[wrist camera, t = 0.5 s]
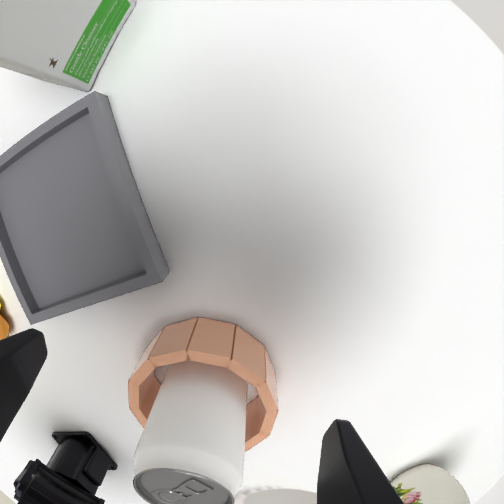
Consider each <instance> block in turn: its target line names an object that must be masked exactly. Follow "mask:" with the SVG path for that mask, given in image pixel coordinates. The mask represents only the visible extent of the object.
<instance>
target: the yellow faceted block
mask: <svg viewBox="0 0 504 504" xmlns="http://www.w3.org/2000/svg"><path fill="white" fill-rule="evenodd" d="M0 308H1V303H0ZM8 334H9V324H8V323H7V322H6V320H5V319H4V318H3V317H2V316H1V315H0V340H2V339H4V338H7V337H8Z"/></svg>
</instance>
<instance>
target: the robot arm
mask: <svg viewBox="0 0 504 504" xmlns="http://www.w3.org/2000/svg"><path fill="white" fill-rule="evenodd" d="M46 358H47V347H46V343H45V338H44V335H43V333H42V332H40V331H38V330H36V329H33V328H32V329H28V330H26V331H23V332H20V333H18V334H15V335H12V336H10V337H7V338H4V339H2V340H0V442H1V440H2V438H3V436H4V435H5V433H6V431H7V429H8V428H9V426H10V424H11V422H12V421H13V419H14V417H15V416H16V414H17V412H18V411H19V409H20V407H21V406H22V404H23V402H24V401H25V399H26V397H27V396H28V394H29V392H30V390H31V388H32V386H33V384H34V382H35V380H36V378H37V376H38V374H39V372H40V370H41V368H42V366H43V364H44V362H45V360H46ZM52 437H53V438H54V439H55V440H56V441H57V443H58V444H59V445H58V447H57V448H56V450H55V452H54V454H53V455H52V457H51V459H50V460H49V462H48V464H47V465H44V464H43V463H42V462H41V461H40V460H38V459H36V461H32V460H30V461H29V462H28V464H27V466H26V467H25V469H24V470H23V471H22V473H21V474H20V475H19V476H18V478H17V479H16V480H15V482H14V486H15V489H16V490H15V496H14V498H15V499H16V500H17V501H19V502H18V504H104V502H105V500H103V499H101V498H98V497H96V496H95V494H96V491H97V489H98V487H99V486H101V484H102V481H103V479H104V477H105V474H106V472H107V470H116V469H117V465H116V464H115V463H114V462H113V461H112V460H111V459H110V458H109V456H108V455H107V454H106V453H105V452H104V451H103V450H102V448H101V447H100V446H99V445H98V444H97V443H96V441H95V440H94V439H93V438H92V436H91V435H90V434H88V433H86V432H54V433H53V434H52ZM317 504H404V503H403V501H402V500H401V498H400V497H399V495H398V494H397V492H396V491H395V489H394V488H393V486H392V485H391V483H390V482H389V480H388V479H387V477H386V476H385V474H384V473H383V471H382V470H381V468H380V467H379V465H378V464H377V462H376V461H375V459H374V458H373V456H372V455H371V453H370V452H369V450H368V449H367V447H366V446H365V444H364V443H363V441H362V439H361V438H360V436H359V435H358V433H357V432H356V430H355V429H354V427H353V426H352V424H351V423H350V422H349V421H347V420H340V419H336V420H334V421H333V423H332V424H331V426H330V427H329V428H328V430H327V431H326V433H325V434H324V436H323V440H322V449H321V458H320V466H319V474H318V483H317Z"/></svg>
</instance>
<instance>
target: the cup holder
mask: <svg viewBox="0 0 504 504" xmlns="http://www.w3.org/2000/svg"><path fill="white" fill-rule="evenodd" d="M186 360H191V361H196V362H201V363H206V364H211V365H216V366H221V367H227V368H228V369H229V370H231V371H232V372H234V373H235V374H237V375H238V376H240V377H241V378H243V379H244V380H246V381H247V382H249V383H250V384H252V385H253V386H255V387H256V389H257V391H258V394H259V396H258V397H256V398H255V399H254V400H253V401H251V402H250V403H249V404H248V405H246V429H245V452H246V451H247V450H249V449H250V448H252V447H254V446H255V445H257V444H258V443H260V442H261V441H263V440H264V439H265V438H267V437H268V436H269V435H270V433H271V430H272V427H273V425H274V422H275V419H276V416H277V414H278V399H277V387H276V375H275V370H274V368H273V365H272V363H271V360H270V358H269V355H268V353H267V350H266V348H265V347H264V345H263V344H262V343H260V342H259V341H258V340H256V339H255V338H254V337H252V336H251V335H250V334H248V333H247V332H246V331H244V330H243V329H242V328H240V327H239V326H238V325H236V326H235V324H232V323H227V322H222V321H217V320H211V319H206V318H201V317H199V319H198V317H196V318H192V319H189V320H185V321H182V322H178V323H175V324H171V325H167V326H165V327H164V328H163V329H162V330H161V331H160V332H159V334H158V335H157V336H156V337H155V338H154V339H153V341H152V342H151V343H150V344H149V345H148V346H147V348H146V349H145V351H144V353H143V355H142V357H141V358H140V360H139V362H138V364H137V366H136V367H135V369H134V371H133V373H132V375H131V377H130V378H129V381H128V392H129V408H130V410H131V411H132V413H133V414H134V416H135V417H136V418H137V420H138V421H139V422H140V424H141V425H142V427H143V428H144V427H145V425H146V422H147V420H148V417H149V414H150V412H151V409H152V407H153V404H154V402H155V399H156V397H157V394H158V392H159V389H160V387H161V385H160V383H159V382H158V380H157V378H156V377H155V375H154V371H155V368H156V367H160V366H164V365H169V364H173V363H178V362H182V361H186Z"/></svg>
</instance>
